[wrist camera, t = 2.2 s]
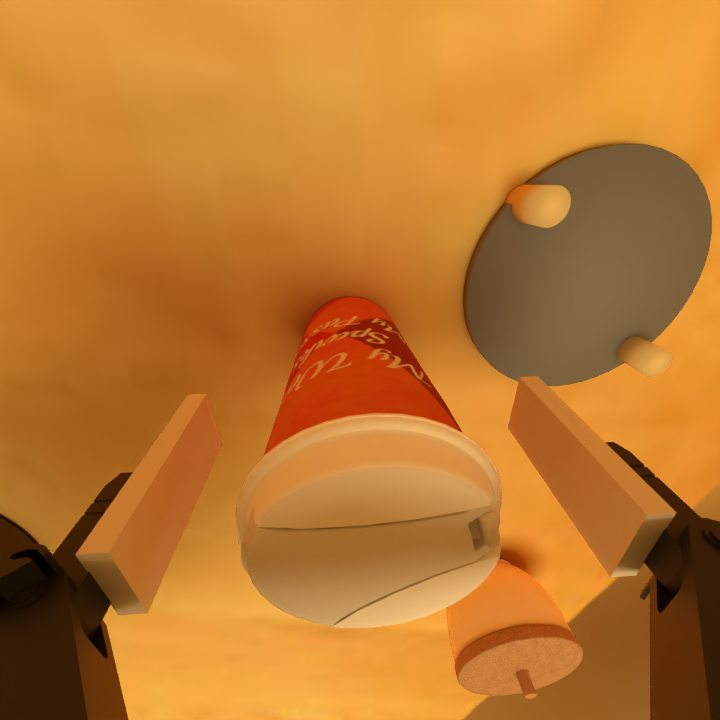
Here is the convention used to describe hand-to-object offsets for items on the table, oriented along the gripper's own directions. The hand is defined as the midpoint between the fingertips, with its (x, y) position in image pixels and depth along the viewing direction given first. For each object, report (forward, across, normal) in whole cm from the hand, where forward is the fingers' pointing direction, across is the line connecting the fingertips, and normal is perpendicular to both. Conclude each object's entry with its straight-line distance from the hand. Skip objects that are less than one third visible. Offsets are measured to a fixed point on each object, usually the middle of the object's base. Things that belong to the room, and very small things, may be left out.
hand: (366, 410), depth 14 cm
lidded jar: (+8, +12, -28) cm, 32 cm away
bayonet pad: (+8, +14, +3) cm, 16 cm away
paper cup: (+8, 0, 0) cm, 8 cm away
